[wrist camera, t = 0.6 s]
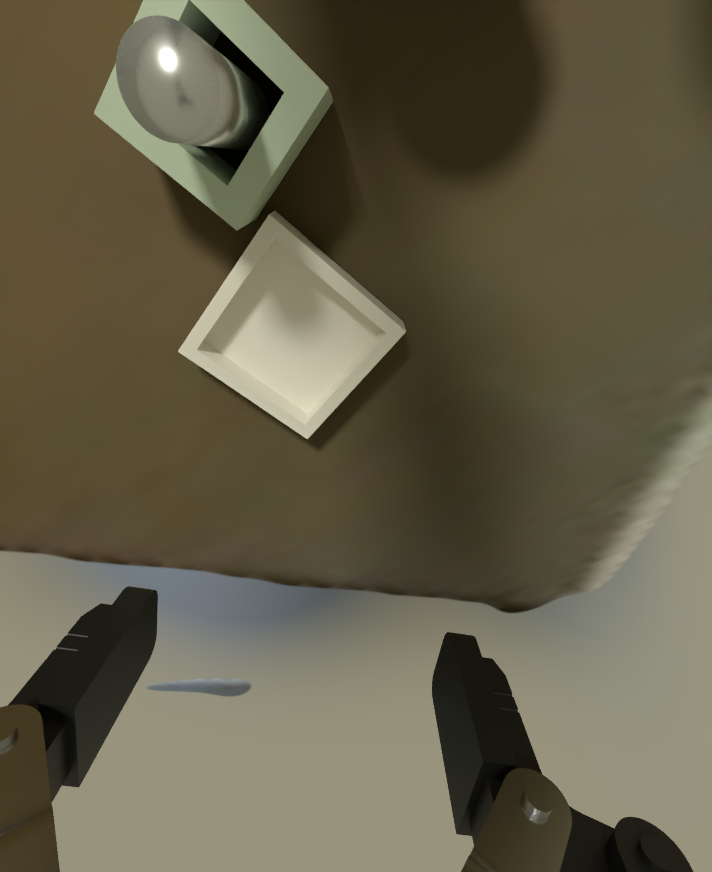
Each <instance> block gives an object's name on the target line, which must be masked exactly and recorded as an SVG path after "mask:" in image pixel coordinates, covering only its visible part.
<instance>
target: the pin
mask: <svg viewBox="0 0 712 872" xmlns="http://www.w3.org/2000/svg"><path fill="white" fill-rule="evenodd" d="M116 75H117V81H118V86H119V89H120V92H121V95H122V98H123V100H124V102H125V105H126V106H127V108H128V110H129V112H130V113H131V114H132V116H133V117H134V119H135V120H136V121H137V122H138V123H139V124H140V125H141V126H142V127H143V128H144V129H145V130H146V131H147V132H149V133H150V134H152V135H153V136H155V137H157V138H159V139H161V140H163V141H167V142H170V143H178V144H188V145H197V146H207V147H216V148H226V149H236V150H245V149H249V148H251V147H252V145H253V143H254V142H255V140H256V138H257V137H258V135H259V133H260V132H261V130H262V128H263V127H264V125H265V123H266V122H267V120H268V118H269V113H268V106H267V102H266V99H265V96H264V94H263V92H262V90H261V89H260V87H259V86H258V84H257V83H256V82H255V81H254V80H253V79H251V78H250V77H249V76H248V75H247V74H245V73H244V72H243V71H242V70H240V69H239V68H238V67H237V66H235V65H234V64H233V63H232V62H231V61H229V60H228V59H227V58H226V57H224V56H223V55H222V54H221V53H219V52H218V51H217V50H216V49H215V48H213V47H212V46H211V45H210V44H208V43H207V42H206V41H205V40H203V39H202V38H201V37H200V36H199V35H197V34H196V33H195V32H194V31H192V30H191V29H190V28H189V27H187V26H186V25H184V24H183V23H181V22H180V21H177V20H175V19H173V18H170V17H167V16H160V15H156V16H148V17H144V18H142V19H140V20H138V21H136V22H135V23H133V24H132V25H131V26H130V27H129V28H128V30H127V31H126V32H125V34H124V35H123V37H122V39H121V41H120V44H119V47H118V51H117V57H116Z"/></svg>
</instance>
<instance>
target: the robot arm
mask: <svg viewBox="0 0 712 872" xmlns="http://www.w3.org/2000/svg"><path fill="white" fill-rule="evenodd" d="M157 602H158V594H157V591H156V590H151V589H144V588H136V587H126V588H125V589H124V590H123V591H122V592H121V594H120V595H119V596H118V598H117V599H116V600H115V602H114V603H113V604H112V605H108V604H99V605H98V606H96V607H95V608H94V609H92V610H90V611H89V612H87V613H86V614H84V615H83V616H81V618H80V619H79V620H78V621H77V622H76V624H75V625H74V626H73V627H72V628H71V630H70V631H69V632H68V635H67V636H65V637H64V638H63V639H62V641H61V642H60V643H59V644H58V646H57V648H56V650H53V652H52V653H51V654H50V655H49V657H48V658H47V659H46V660H45V661H44V663H43V664H42V665H41V666H40V667H39V669H38V670H37V671H36V672H35V673H34V675H33V676H32V677H31V678H30V680H29V681H28V682H27V683H26V684H25V686H24V687H23V688H22V689H21V691H20V692H19V693H18V694H17V695H16V697H15V698H14V699H13V701H11V703H10V704H9V705H8V706H5V707H1V708H0V872H60V870H59V861H58V852H57V843H56V835H55V825H54V816H53V809H52V804H51V803H52V801H53V799H54V798H55V796H56V794H57V793H58V791H59V789H60V787H61V786H62V785H64V786H72V787H79V786H80V784H81V783H82V781H83V779H84V777H85V775H86V774H87V772H88V770H89V768H90V766H91V764H92V763H93V761H94V759H95V757H96V756H97V753H98V752H99V750H100V748H101V746H102V745H103V743H104V741H105V739H106V737H107V736H108V734H109V732H110V730H111V728H112V726H113V725H114V723H115V721H116V719H117V717H118V715H119V713H120V711H121V710H122V708H123V706H124V705H125V703H126V701H127V699H128V697H129V696H130V693H131V692H132V690H133V688H134V686H135V685H136V683H137V681H138V679H139V677H140V675H141V674H142V672H143V670H144V668H145V666H146V665H147V663H148V661H149V659H150V657H151V655H152V652H153V649H154V646H155V641H156V635H157ZM432 697H433V703H434V709H435V715H436V720H437V726H438V732H439V737H440V743H441V749H442V754H443V760H444V766H445V772H446V777H447V783H448V789H449V795H450V800H451V806H452V812H453V817H454V823H455V829H456V834H461V835H469V836H472V838H473V843H474V848H473V850H472V852H471V854H470V855H469V857H468V859H467V861H466V863H465V865H464V867H463V869H462V871H461V872H693V870H692V868H691V866H690V864H689V863H688V861H687V859H686V858H685V856H684V855H683V853H682V852H681V850H680V849H679V848H678V847H677V845H676V844H675V843H674V842H673V841H672V840H671V839H670V838H669V837H668V836H667V835H666V834H665V833H664V832H662V831H661V830H660V829H659V828H657V827H656V826H654V825H652V824H651V823H649V822H647V821H645V820H643V819H640V818H636V817H626V818H623V819H621V820H620V821H619V822H618V823H617V825H616V827H615V829H614V828H612V827H610V826H608V825H605V824H603V823H601V822H599V821H597V820H595V819H593V818H590V817H588V816H586V815H584V814H582V813H580V812H578V811H576V810H574V809H573V808H571V807H570V806H569V805H568V803H567V801H566V799H565V797H564V796H563V794H562V793H561V791H560V790H559V789H558V788H557V786H556V785H555V784H554V783H552V781H550V780H549V779H548V778H547V777H545V776H544V775H542V773H541V770H540V768H539V765H538V762H537V760H536V757H535V754H534V751H533V749H532V746H531V743H530V741H529V738H528V735H527V732H526V730H525V727H524V724H523V722H522V719H521V716H520V713H518V708H517V705H516V703H515V700H514V697H512V692H511V689H510V686H509V684H508V681H507V678H506V676H505V674H504V673H503V672H502V670H501V669H500V668H499V667H498V665H497V664H496V663H495V661H494V660H493V659H490V658H483V657H482V656H481V653H480V650H479V647H478V644H477V641H476V638H475V637H474V636H471V635H464V634H457V633H450V632H447V633H446V634H445V637H444V639H443V643H442V646H441V650H440V653H439V657H438V660H437V664H436V667H435V670H434V674H433V681H432Z"/></svg>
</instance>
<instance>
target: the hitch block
mask: <svg viewBox="0 0 712 872" xmlns="http://www.w3.org/2000/svg"><path fill="white" fill-rule="evenodd" d="M156 15H160V16H167V17H170V18H173V19H175V20H177V21H180V22H181V23H183V24H184V25H186V26H187V27H189V28H190V29H191V30H192V31H194V32H195V33H196V34H197V35H199V36H200V37H201V38H202V39H203V40H205V41H206V42H207V43H208V44H210V45H211V46H212V47H213V46H214V44H215V43H216V41H217V39H218V37H219V35H220V33H221V31H222V32H223V33H224V34H225V35H226V36H227V37H228V38H229V39H230V40H231V41H232V42H233V43H234V44H235V45H236V46H237V47H238V48H239V49H240V50H241V51H242V52H243V53H244V54H245V55H246V56H247V57H248V58H249V59H250V60H251V61H252V62H253V63H254V64H256V65H257V66H258V67H259V68H260V69H261V70H262V71H263V72H264V73H265V74H266V75H267V76H268V77H269V78H270V79H271V80H272V81H273V82H274V83H275V84H276V85H277V86H278V87H279V88H280V89H281V90H282V91H283V92H284V94H283V95H282V97H281V99H280V100H279V102H278V104H277V105H276V107H275V109H274V110H273V112H272V113H271V115H270V117H269V118H268V120H267V122H266V123H265V125H264V127H263V128H262V130H261V132H260V133H259V135H258V137H257V138H256V140H255V142H254V143H253V145H252V147H251V148H250V150H249V151H248V153H247V155H246V156H245V158H244V160H243V161H242V163H241V165H240V166H239V168H238V170H237V171H236V170H235V169H234V168H233V167H231V166H230V165H229V164H228V163H227V162H226V161H225V160H223V159H222V158H221V157H220V156H219V155H218V154H216V153H215V152H214V151H213V150H212V149H211V148H210V147H207V146H197V145H188V144H178V143H170V142H167V141H163V140H161V139H159V138H157V137H155V136H153V135H152V134H150V133H149V132H147V131H146V130H145V129H144V128H143V127H142V126H141V125H140V124H139V123H138V122H137V121H136V120H135V119H134V117H133V116H132V114H131V113H130V112H129V110H128V108H127V106H126V105H125V102H124V100H123V98H122V95H121V92H120V89H119V86H118V81H117V75H116V64H115V66H114V68H113V71H112V73H111V75H110V78H109V80H108V82H107V84H106V87H105V89H104V91H103V93H102V96H101V98H100V100H99V103H98V105H97V107H96V109H95V112H94V114H95V115H96V116H97V117H99V118H100V119H101V120H102V121H104V122H105V123H106V124H107V125H108V126H110V127H111V128H112V129H113V130H115V131H116V132H117V133H118V134H119V135H121V136H122V137H123V138H124V139H125V140H127V141H128V142H129V143H130V144H132V145H133V146H134V147H135V148H136V149H138V150H139V151H140V152H141V153H143V154H144V155H145V156H146V157H147V158H149V159H150V160H151V161H152V162H154V163H155V164H156V165H157V166H158V167H160V168H161V169H162V170H163V171H165V172H166V173H167V174H168V175H169V176H171V177H172V178H173V179H174V180H176V181H177V182H178V183H179V184H180V185H182V186H183V187H184V188H185V189H187V190H188V191H189V192H190V193H191V194H193V195H194V196H195V197H196V198H197V199H199V200H200V201H201V202H202V203H204V204H205V205H206V206H207V207H208V208H210V209H211V210H212V211H213V212H215V213H216V214H217V215H218V216H219V217H221V218H222V219H223V220H224V221H226V222H227V223H228V224H229V225H230V226H232V227H233V228H234V229H235V230H239V229H240V228H242V227H244V226H246V225H247V224H249V223H251V222H252V221H254V220H256V219H257V217H258V216H259V214H260V213H261V211H262V209H263V208H264V206H265V205H266V203H267V202H268V200H269V199H270V197H271V196H272V194H273V193H274V191H275V190H276V188H277V187H278V185H279V184H280V182H281V181H282V179H283V177H284V176H285V174H286V173H287V171H288V170H289V168H290V167H291V165H292V164H293V162H294V161H295V159H296V158H297V156H298V155H299V153H300V152H301V150H302V148H303V147H304V145H305V144H306V142H307V141H308V139H309V138H310V136H311V135H312V133H313V132H314V130H315V129H316V127H317V126H318V124H319V123H320V121H321V120H322V118H323V116H324V115H325V113H326V112H327V110H328V109H329V107H330V106H331V104H332V103H333V99H332V96H331V93H330V90H329V87H328V86H327V85H326V84H325V83H324V82H323V81H322V80H321V79H320V78H319V77H318V76H317V75H316V74H315V73H314V72H313V71H312V70H311V69H310V68H309V67H308V66H307V65H306V64H305V63H304V62H303V61H302V60H301V59H300V58H299V57H298V56H297V55H296V54H295V52H294V51H293V50H292V49H291V48H290V47H289V46H288V45H287V44H286V43H285V42H284V41H283V40H282V39H281V38H280V37H279V36H278V35H277V34H276V33H275V32H274V31H273V30H272V29H271V28H270V27H269V26H268V25H267V24H266V23H265V22H264V21H263V20H262V19H261V18H260V17H259V16H258V15H257V13H256V12H255V11H254V10H253V9H252V8H251V7H250V6H249V5H248V4H247V3H246V2H245V1H244V0H143V2H142V5H141V7H140V9H139V11H138V14H137V16H136V18H135V21H134V23H135V22H136V21H138V20H140V19H142V18H144V17H148V16H156Z"/></svg>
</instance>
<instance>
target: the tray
mask: <svg viewBox="0 0 712 872" xmlns="http://www.w3.org/2000/svg"><path fill="white" fill-rule="evenodd" d="M405 333H406V329H405V326H404V323H403V321H402V320H401V319H400V318H399V317H397V316H396V315H395V314H394V313H393V312H392V311H391V310H389V309H388V308H387V307H386V306H385V305H384V304H382V303H381V302H380V301H379V300H378V299H377V298H376V297H374V296H373V295H372V294H371V293H370V292H369V291H367V290H366V289H365V288H364V287H363V286H362V285H361V284H359V283H358V282H357V281H356V280H355V279H354V278H352V277H351V276H350V275H349V274H348V273H347V272H346V271H344V270H343V269H342V268H341V267H340V266H339V265H337V264H336V263H335V262H334V261H333V260H332V259H331V258H329V257H328V256H327V255H326V254H325V253H324V252H322V251H321V250H320V249H319V248H318V247H317V246H315V245H314V244H313V243H312V242H311V241H310V240H309V239H307V238H306V237H305V236H304V235H303V234H302V233H300V232H299V231H298V230H297V229H296V228H295V227H294V226H292V225H291V224H290V223H289V222H288V221H287V220H285V219H284V218H283V217H282V216H281V215H280V214H279V213H277V212H276V211H274V212H272V213H270V214H269V215H268V217H267V218H266V220H265V221H264V223H263V224H262V226H261V227H260V229H259V230H258V232H257V233H256V235H255V236H254V238H253V239H252V241H251V242H250V244H249V245H248V247H247V248H246V250H245V251H244V253H243V254H242V256H241V257H240V259H239V260H238V262H237V263H236V265H235V266H234V268H233V269H232V271H231V272H230V274H229V275H228V277H227V278H226V280H225V281H224V283H223V284H222V286H221V287H220V289H219V290H218V292H217V293H216V295H215V296H214V298H213V299H212V301H211V302H210V304H209V305H208V307H207V308H206V310H205V311H204V313H203V314H202V316H201V317H200V319H199V320H198V322H197V323H196V325H195V326H194V328H193V329H192V331H191V332H190V334H189V335H188V337H187V338H186V340H185V341H184V343H183V344H182V346H181V347H180V349H179V350H178V352H179V353H181V354H182V355H184V356H185V357H187V358H188V359H190V360H191V361H193V362H194V363H196V364H197V365H199V366H200V367H202V368H203V369H204V370H206V371H207V372H209V373H210V374H212V375H213V376H215V377H216V378H218V379H219V380H221V381H222V382H224V383H225V384H227V385H228V386H229V387H231V388H232V389H234V390H235V391H237V392H238V393H240V394H241V395H243V396H244V397H246V398H247V399H249V400H250V401H252V402H253V403H254V404H256V405H257V406H259V407H260V408H262V409H263V410H265V411H266V412H268V413H269V414H271V415H272V416H274V417H275V418H277V419H278V420H279V421H281V422H282V423H284V424H285V425H287V426H288V427H290V428H291V429H293V430H294V431H296V432H297V433H299V434H300V435H302V436H303V437H305V438H306V439H308V438H309V437H310V436H311V435H312V434H313V433H314V432H315V431H316V429H317V428H318V427H319V426H320V425H321V424H322V423H323V422H324V421H325V420H326V419H327V417H328V416H329V415H330V414H331V413H332V412H333V411H334V410H335V409H336V408H337V407H338V406H339V404H340V403H341V402H342V401H343V400H344V399H345V398H346V397H347V396H348V395H349V394H350V392H351V391H352V390H353V389H354V388H355V387H356V386H357V385H358V384H359V383H360V382H361V380H362V379H363V378H364V377H365V376H366V375H367V374H368V373H369V372H370V371H371V370H372V369H373V367H374V366H375V365H376V364H377V363H378V362H379V361H380V360H381V359H382V358H383V357H384V355H385V354H386V353H387V352H388V351H389V350H390V349H391V348H392V347H393V346H394V345H395V343H396V342H397V341H398V340H399V339H400V338H401V337H402V336H403V335H404V334H405Z"/></svg>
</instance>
